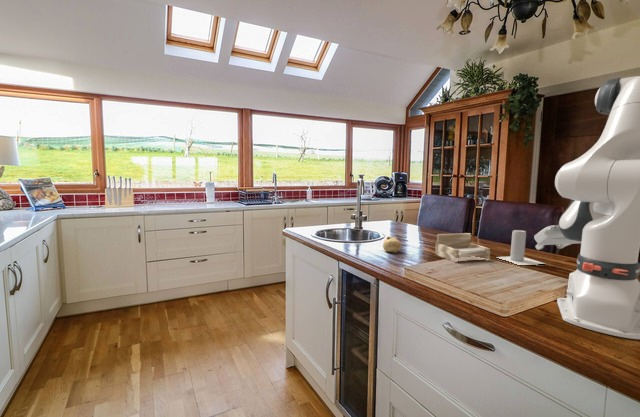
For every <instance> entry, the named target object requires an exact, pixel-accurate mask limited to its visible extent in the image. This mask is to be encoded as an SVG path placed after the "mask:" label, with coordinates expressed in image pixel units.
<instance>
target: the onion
mask: <svg viewBox="0 0 640 417" xmlns="http://www.w3.org/2000/svg"><path fill="white" fill-rule="evenodd" d="M382 248H383V250H384V251H385V252H386V253H395V254H396V253H398V252H399V251H401V249H402V244H401V242H400V240H399V239H398V238H395V237H392V236H386V238H385V239H384V242H383V243H382Z"/></svg>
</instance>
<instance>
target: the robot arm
mask: <svg viewBox="0 0 640 417" xmlns="http://www.w3.org/2000/svg"><path fill="white" fill-rule="evenodd" d="M594 105H595V110H596V111H597V112H598V113H599V114H602V115H607V116H608V117H607V120H606V124H605V126H604V128H603V131H602V133H601V135H600V137H599V139H597V142H596V143H594V145H592V147H591V148H589V149H588V150H587V151H586V152H585V153H583V154H582V155H580V156H578V158H575V159H574V160H572V161H569V162H567V163H565V164H564V165H562V166H561V167H560V169H559V170H558V171H557V172H556V175H555V179H554V187H555V189H556V191H557V193H558V194H559V196H561V198H564V199H569V200H570V202H569V204H568V206H567V207H566V208H565V210H564V212H563V213H562V214H561V215H560V217H559V220H558V224H557V225H555V224H554V225H553V224H552V225H549V226H546V227H544V228H543V229H541V230H540V231H538V232H537V233H536V234H534V237H533V238H534V240H535V242H536V243H537V244H536V245H535V249H536V250H538V251H539V250H543V249H544V248H545V246H551V245H552V246H554V245H555V246H556V248H557V250H558V249H559V250H560V249H563V248H565V247H567V246H570V245H572V244H575V245H576V244H580V252H579V253H578V255H577V258H576V270H574V271H572V272H570V273H569V276H568V283H567V289H566V290H565V296H566V297H558V298H557V299H556V300H557V301H556V303H557V306H558V308H559V312H560V315H561V318H562V320H563V321H565V322H567V323H569V324H572V325H574V326H577V327H580V328H584V329H586V330H591V331H594V332H598V333H602V334H605V335H610V336H615V337H619V338H625V339H633V340H640V280H639V276H640V262H639V253H640V75H639V76H638V75H637V76H630V77H629V76H628V77H614V78H611V79H610V78H609V79H607V80H606V81H605V82H603V83H602V84H601V86H600V87H599V88H598V90H597V92H596V94H595V97H594Z"/></svg>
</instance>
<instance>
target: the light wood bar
mask: <svg viewBox="0 0 640 417" xmlns="http://www.w3.org/2000/svg"><path fill="white" fill-rule="evenodd" d="M457 250H459V252H458V258H461V257H471V256H475V257H480V258H485V257H484V256H485V254H484V253H485V250H484V249H481V248H464V249H457Z"/></svg>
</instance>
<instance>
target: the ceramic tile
mask: <svg viewBox="0 0 640 417" xmlns="http://www.w3.org/2000/svg"><path fill="white" fill-rule="evenodd" d="M496 258H499V259H502V260H506V261H509V262H512V263H514V264H517V265H536V266H539V265H538V264H545V265H546V263H545V262H541V261H539V260H536V259H531V258H528V257H525V256H524V260H523V261H514V260H511V258H510V256H509V255H508V256H496ZM499 259H498V260H499ZM502 260H501V261H502ZM514 264H513V265H514ZM517 265H516V266H517Z"/></svg>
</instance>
